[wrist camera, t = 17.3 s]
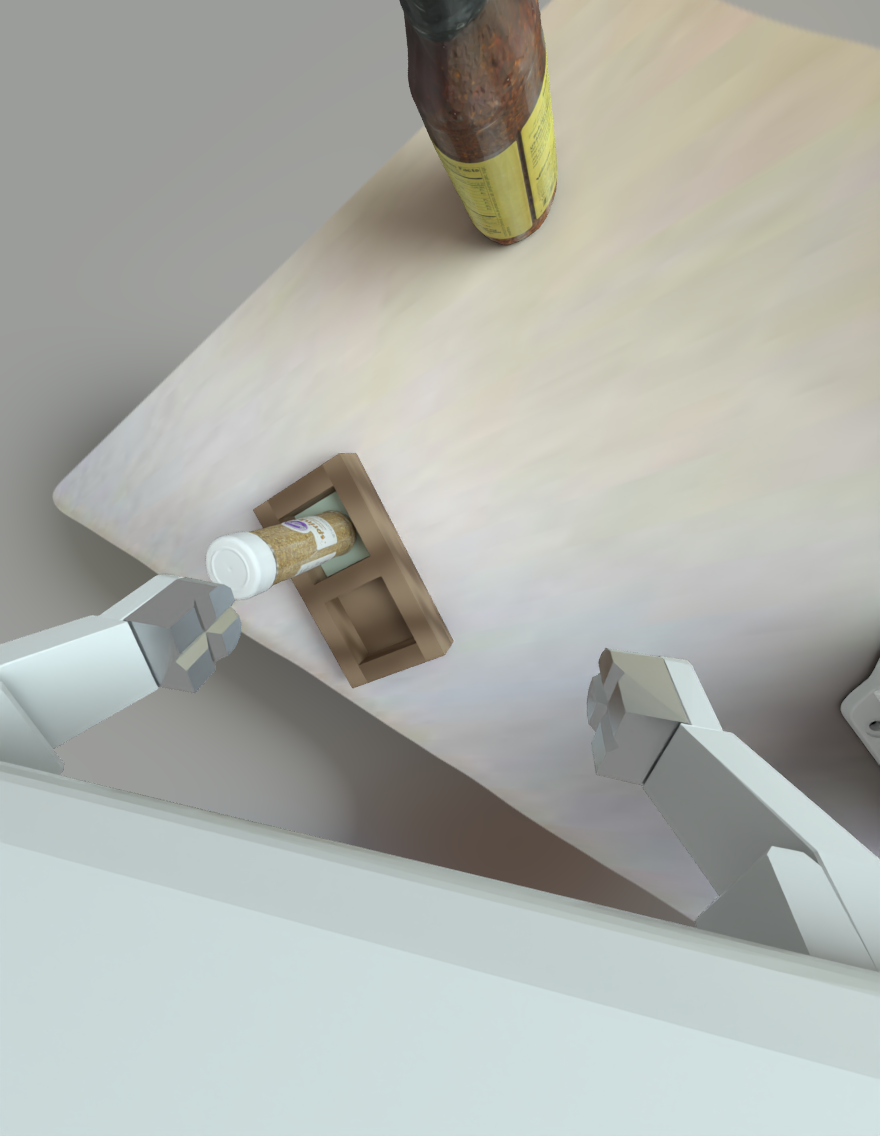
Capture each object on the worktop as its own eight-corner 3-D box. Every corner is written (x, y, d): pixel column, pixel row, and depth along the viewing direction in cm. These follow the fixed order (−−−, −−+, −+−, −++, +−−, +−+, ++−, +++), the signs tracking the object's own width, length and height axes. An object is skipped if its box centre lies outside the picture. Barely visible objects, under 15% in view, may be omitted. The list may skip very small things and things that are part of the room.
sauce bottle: (527, 120, 28) (447, -528, 9) (575, 201, 28) (589, -268, 10) (450, 200, 30) (270, -188, 12) (496, 274, 31) (389, 8, 12)
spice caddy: (453, 641, 40) (444, 655, 37) (366, 673, 44) (352, 688, 41) (356, 453, 38) (339, 453, 35) (273, 506, 42) (253, 509, 39)
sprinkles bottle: (356, 511, 38) (254, 540, 26) (357, 558, 40) (260, 606, 27) (314, 507, 40) (198, 532, 27) (316, 552, 41) (206, 596, 29)
